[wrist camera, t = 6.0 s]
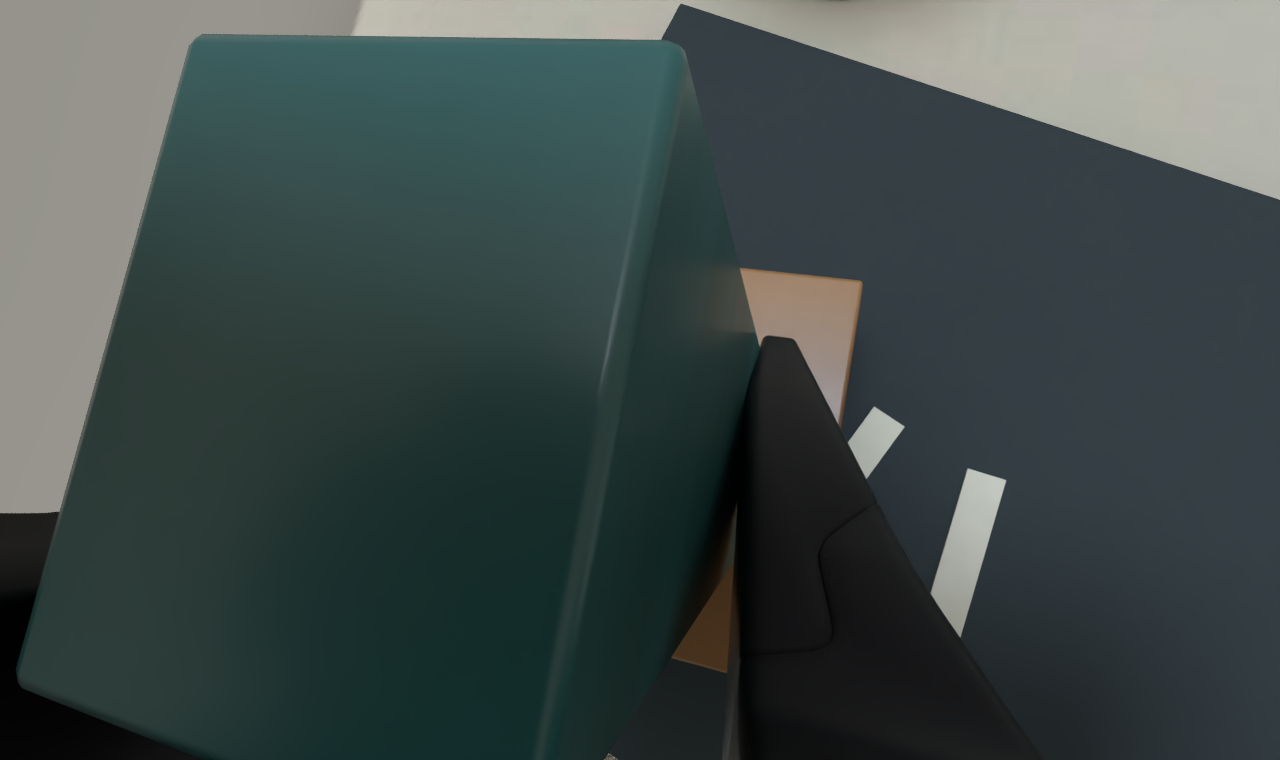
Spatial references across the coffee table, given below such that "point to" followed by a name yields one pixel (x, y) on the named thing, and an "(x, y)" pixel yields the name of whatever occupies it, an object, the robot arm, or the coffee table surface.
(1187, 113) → the coffee table surface
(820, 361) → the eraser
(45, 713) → the robot arm
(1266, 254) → the slate mat
